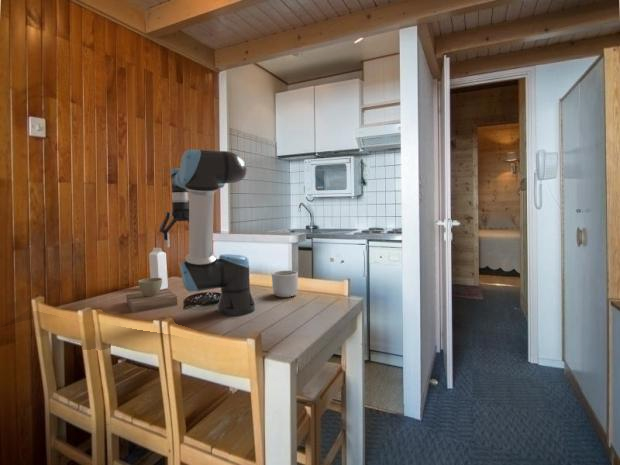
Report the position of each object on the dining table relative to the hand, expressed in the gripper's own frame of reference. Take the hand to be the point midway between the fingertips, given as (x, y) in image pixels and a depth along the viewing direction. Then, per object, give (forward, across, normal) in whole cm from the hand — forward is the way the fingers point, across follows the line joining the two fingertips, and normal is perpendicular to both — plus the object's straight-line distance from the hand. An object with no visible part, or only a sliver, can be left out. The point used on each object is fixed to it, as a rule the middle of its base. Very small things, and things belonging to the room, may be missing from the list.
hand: (183, 245), depth 170 cm
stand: (+25, +17, +5) cm, 30 cm away
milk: (+25, +6, -25) cm, 36 cm away
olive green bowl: (+21, +17, +5) cm, 27 cm away
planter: (+25, -37, +32) cm, 55 cm away
